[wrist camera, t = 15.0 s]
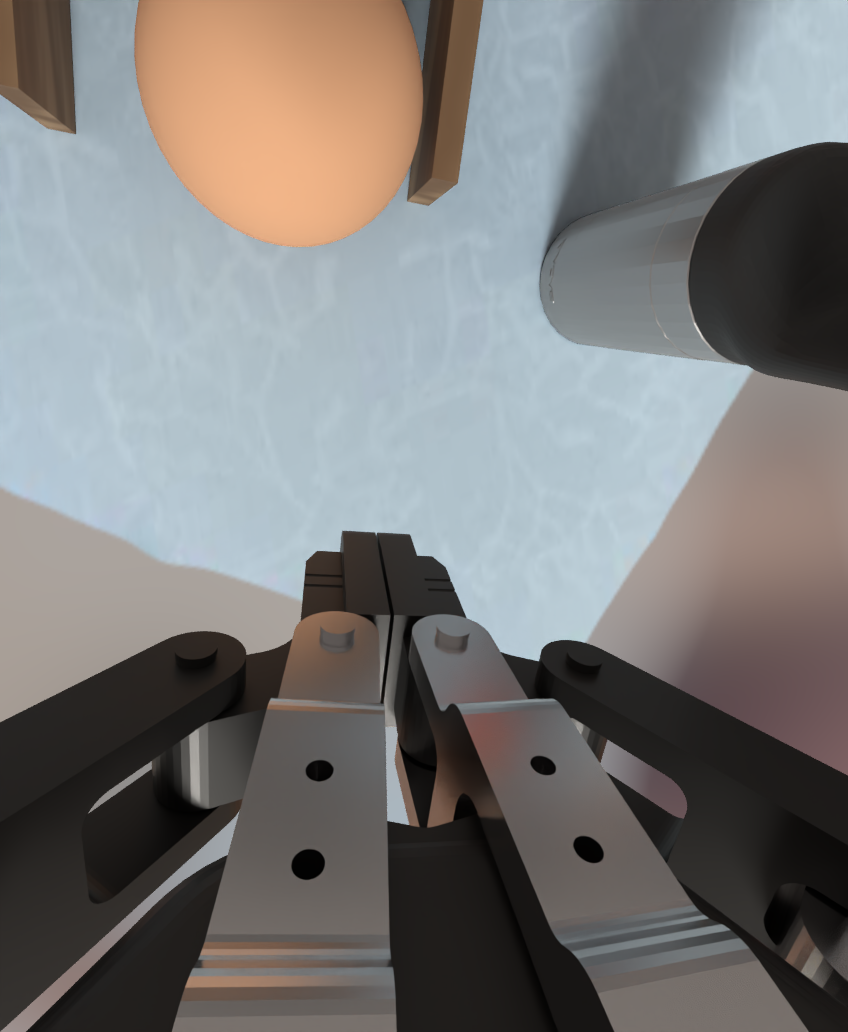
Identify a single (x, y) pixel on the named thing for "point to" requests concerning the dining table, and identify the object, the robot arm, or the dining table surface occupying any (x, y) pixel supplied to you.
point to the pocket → (446, 77)
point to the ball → (283, 109)
